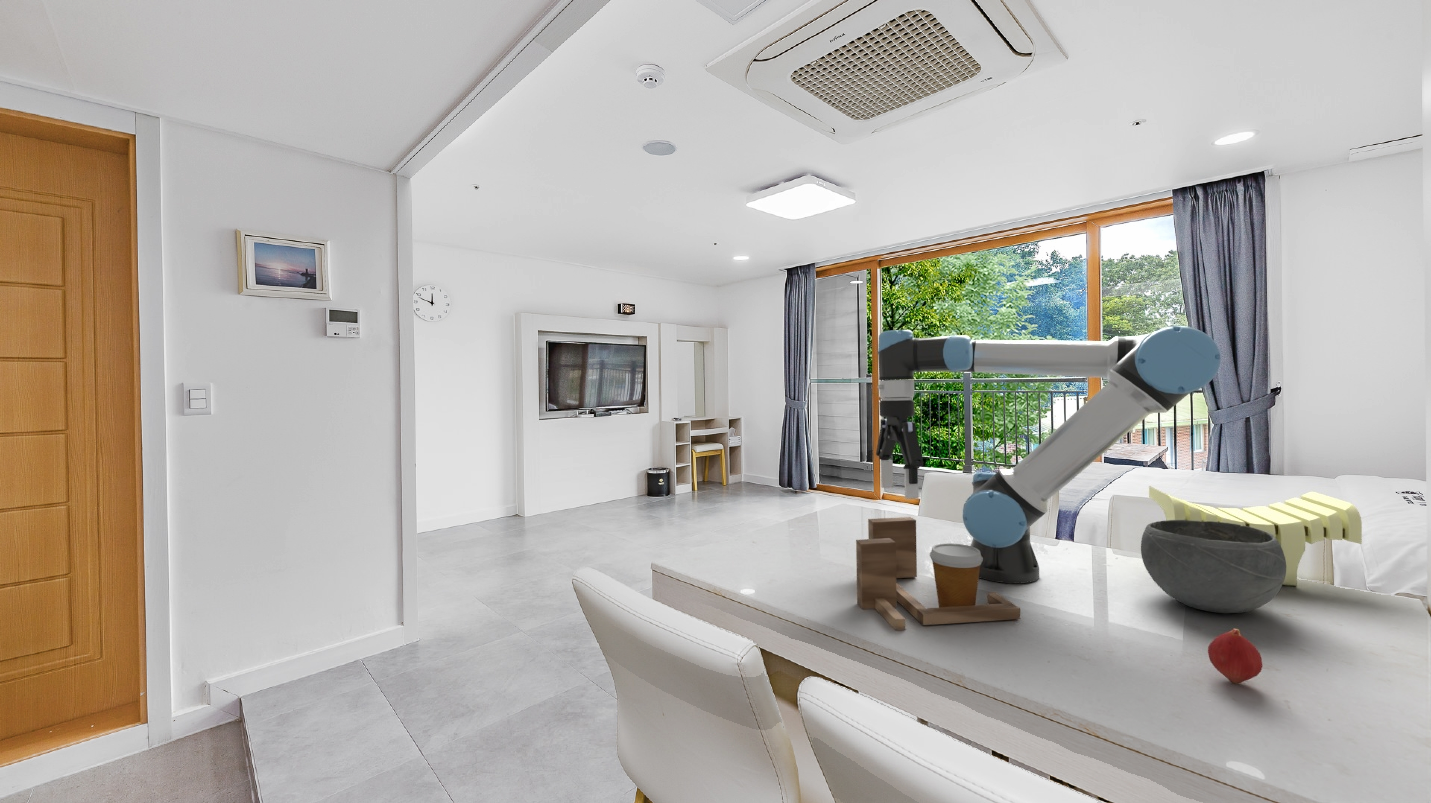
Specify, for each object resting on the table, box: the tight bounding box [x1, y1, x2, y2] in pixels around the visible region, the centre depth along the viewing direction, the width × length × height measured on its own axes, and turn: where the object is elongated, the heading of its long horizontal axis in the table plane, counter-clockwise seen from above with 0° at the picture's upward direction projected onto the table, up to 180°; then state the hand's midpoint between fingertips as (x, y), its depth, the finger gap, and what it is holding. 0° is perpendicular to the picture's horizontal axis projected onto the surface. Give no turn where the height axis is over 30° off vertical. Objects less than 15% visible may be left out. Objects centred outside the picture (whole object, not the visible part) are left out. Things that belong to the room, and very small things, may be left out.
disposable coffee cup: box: [929, 542, 983, 608], centre depth 110 cm, size 10×10×12 cm
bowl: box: [1140, 519, 1286, 614], centre depth 109 cm, size 21×21×15 cm
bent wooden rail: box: [867, 516, 1021, 626], centre depth 117 cm, size 27×19×13 cm
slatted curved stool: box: [1148, 485, 1363, 587], centre depth 125 cm, size 30×16×18 cm, turn 69°
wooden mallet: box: [855, 538, 906, 631], centre depth 108 cm, size 13×7×13 cm, turn 5°
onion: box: [1207, 628, 1263, 684], centre depth 82 cm, size 6×6×8 cm
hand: (898, 492), depth 129 cm, fingers open, 13 cm apart
